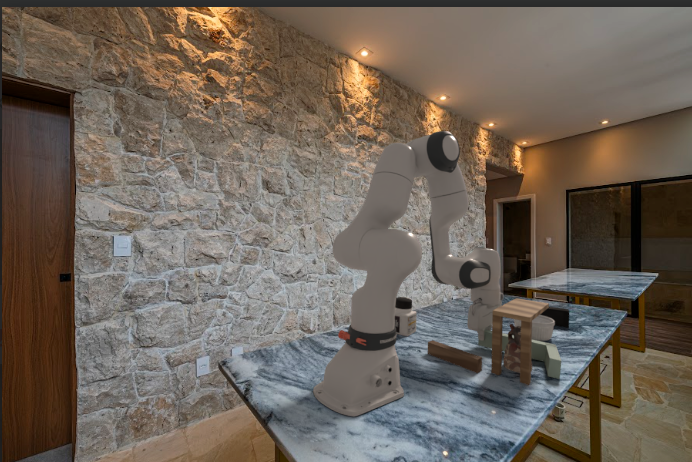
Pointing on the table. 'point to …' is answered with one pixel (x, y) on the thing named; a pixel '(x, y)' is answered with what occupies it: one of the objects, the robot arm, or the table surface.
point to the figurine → (513, 350)
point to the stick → (455, 356)
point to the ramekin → (540, 327)
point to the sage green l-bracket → (532, 352)
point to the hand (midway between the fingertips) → (484, 338)
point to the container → (404, 316)
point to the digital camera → (558, 316)
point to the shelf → (526, 314)
